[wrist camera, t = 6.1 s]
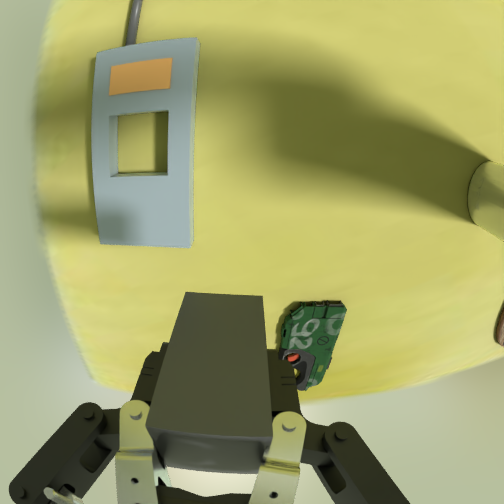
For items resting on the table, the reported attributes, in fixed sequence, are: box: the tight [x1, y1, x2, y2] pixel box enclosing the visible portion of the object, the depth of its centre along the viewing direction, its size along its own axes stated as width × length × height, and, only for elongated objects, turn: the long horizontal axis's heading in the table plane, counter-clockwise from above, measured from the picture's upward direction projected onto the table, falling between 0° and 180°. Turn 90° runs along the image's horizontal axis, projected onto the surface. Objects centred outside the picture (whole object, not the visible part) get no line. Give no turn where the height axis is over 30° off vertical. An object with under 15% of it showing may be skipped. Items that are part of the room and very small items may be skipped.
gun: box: [278, 300, 347, 391], centre depth 35 cm, size 16×2×10 cm
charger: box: [145, 292, 273, 474], centre depth 11 cm, size 4×4×8 cm
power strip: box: [91, 0, 200, 248], centre depth 20 cm, size 10×33×2 cm, turn 177°
